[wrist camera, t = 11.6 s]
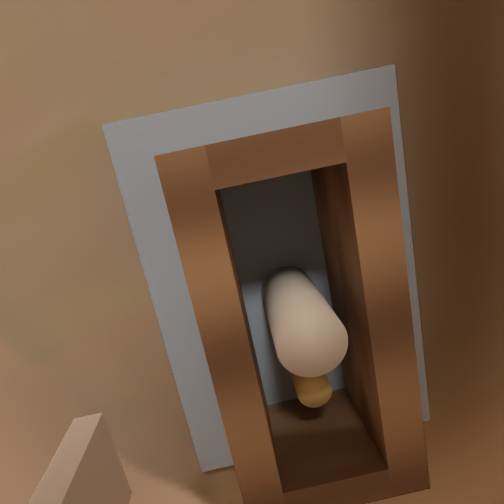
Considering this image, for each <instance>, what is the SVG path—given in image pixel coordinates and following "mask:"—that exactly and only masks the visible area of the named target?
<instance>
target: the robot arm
mask: <svg viewBox="0 0 504 504" xmlns="http://www.w3.org/2000/svg"><path fill="white" fill-rule="evenodd" d="M131 493H132V492H131V489H130V486H129V484H128V481H127V478H126V476H125V473H124V470H123V467H122V465H121V462H120V459H119V456H118V454H117V451H116V448H115V445H114V443H113V440H112V437H111V434H110V432H109V429H108V426H107V423H106V421H105V418H104V415H103V413H98V414H93V415H89V416H84V417H80V418H75V419H74V420H73V422H72V424H71V425H70V427H69V429H68V431H67V433H66V435H65V436H64V438H63V440H62V442H61V444H60V446H59V448H58V449H57V451H56V453H55V455H54V457H53V458H52V461H51V462H50V464H49V466H48V468H47V470H46V471H45V473H44V475H43V477H42V479H41V481H40V482H39V484H38V486H37V488H36V490H35V492H34V494H33V495H32V497H31V499H30V501H29V503H28V504H129V501H130V497H131Z"/></svg>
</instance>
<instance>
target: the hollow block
mask: <svg viewBox="0 0 504 504" xmlns="http://www.w3.org/2000/svg"><path fill="white" fill-rule="evenodd" d="M154 159H155V163H156V167H157V171H158V174H159V178H160V182H161V186H162V190H163V194H164V197H165V201H166V205H167V209H168V213H169V217H170V221H171V224H172V228H173V232H174V236H175V240H176V244H177V248H178V251H179V255H180V259H181V263H182V267H183V271H184V274H185V278H186V282H187V286H188V290H189V294H190V298H191V301H192V305H193V309H194V313H195V317H196V321H197V324H198V328H199V332H200V336H201V340H202V344H203V348H204V351H205V355H206V359H207V363H208V367H209V371H210V374H211V378H212V382H213V386H214V390H215V394H216V398H217V401H218V405H219V409H220V413H221V417H222V421H223V425H224V428H225V432H226V436H227V440H228V444H229V448H230V451H231V455H232V459H233V463H234V467H235V471H236V475H237V478H238V482H239V486H240V490H241V494H242V498H243V501H244V504H365V503H370V502H374V501H378V500H383V499H387V498H391V497H395V496H400V495H404V494H408V493H413V492H417V491H421V490H426V489H430V482H429V473H428V463H427V454H426V444H425V435H424V425H423V416H422V406H421V397H420V388H419V378H418V369H417V359H416V350H415V340H414V331H413V321H412V312H411V302H410V293H409V284H408V274H407V265H406V255H405V246H404V236H403V227H402V217H401V208H400V199H399V189H398V180H397V170H396V161H395V151H394V142H393V132H392V123H391V113H390V107H385V108H380V109H375V110H371V111H366V112H361V113H356V114H351V115H347V116H342V117H337V118H332V119H328V120H323V121H318V122H313V123H308V124H304V125H299V126H294V127H289V128H285V129H280V130H275V131H270V132H265V133H261V134H256V135H251V136H246V137H242V138H237V139H232V140H227V141H222V142H218V143H213V144H208V145H203V146H199V147H194V148H189V149H184V150H179V151H175V152H170V153H165V154H160V155H156V156H154ZM308 170H310V171H311V177H312V184H313V190H314V196H315V202H316V208H317V215H318V221H319V227H320V233H321V239H322V246H323V252H324V258H325V264H326V270H327V276H328V283H329V289H330V295H331V301H332V307H333V311H334V312H335V314H336V315H337V317H338V318H339V319H340V321H341V322H342V324H343V325H344V327H345V329H346V331H347V335H348V348H347V352H346V354H345V356H344V358H343V360H342V361H341V363H342V369H343V376H344V382H345V388H342V389H338V390H333V391H332V395H331V397H330V399H329V401H328V402H327V403H325V404H324V405H322V406H320V407H316V408H311V407H307V406H305V405H303V404H302V403H301V402H300V401H299V399H293V400H289V401H285V402H280V403H276V404H271V405H267V402H266V397H265V393H264V388H263V384H262V379H261V375H260V370H259V366H258V361H257V357H256V352H255V348H254V343H253V339H252V334H251V330H250V325H249V321H248V316H247V312H246V307H245V303H244V298H243V294H242V290H241V285H240V281H239V276H238V272H237V267H236V263H235V258H234V254H233V249H232V245H231V240H230V236H229V231H228V227H227V222H226V218H225V213H224V209H223V204H222V200H221V195H220V191H219V189H223V188H227V187H232V186H237V185H241V184H246V183H251V182H256V181H260V180H265V179H270V178H275V177H279V176H284V175H289V174H293V173H298V172H303V171H308Z"/></svg>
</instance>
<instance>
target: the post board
mask: <svg viewBox="0 0 504 504" xmlns="http://www.w3.org/2000/svg"><path fill="white" fill-rule="evenodd" d="M385 107H390V113H391V123H392V132H393V142H394V151H395V161H396V170H397V180H398V189H399V199H400V208H401V217H402V227H403V236H404V246H405V255H406V265H407V274H408V284H409V293H410V302H411V312H412V321H413V331H414V340H415V350H416V359H417V369H418V378H419V388H420V397H421V406H422V416H423V422H425V421H429V420H430V411H429V401H428V391H427V381H426V371H425V361H424V351H423V341H422V332H421V322H420V312H419V302H418V292H417V282H416V272H415V262H414V252H413V242H412V232H411V222H410V212H409V203H408V193H407V183H406V173H405V163H404V153H403V143H402V133H401V123H400V113H399V103H398V93H397V84H396V74H395V64H392V65H387V66H382V67H377V68H372V69H367V70H363V71H358V72H353V73H348V74H343V75H339V76H334V77H329V78H324V79H319V80H314V81H310V82H305V83H300V84H295V85H290V86H286V87H281V88H276V89H271V90H266V91H261V92H257V93H252V94H247V95H242V96H237V97H233V98H228V99H223V100H218V101H213V102H209V103H204V104H199V105H194V106H189V107H184V108H180V109H175V110H170V111H165V112H160V113H156V114H151V115H146V116H141V117H136V118H131V119H127V120H122V121H117V122H112V123H107V124H103V125H102V128H103V132H104V135H105V138H106V142H107V145H108V149H109V152H110V156H111V159H112V163H113V166H114V170H115V173H116V177H117V180H118V184H119V187H120V191H121V194H122V197H123V201H124V204H125V208H126V211H127V215H128V218H129V222H130V225H131V229H132V232H133V236H134V239H135V243H136V246H137V250H138V253H139V256H140V260H141V263H142V267H143V270H144V274H145V277H146V281H147V284H148V288H149V291H150V295H151V298H152V302H153V305H154V309H155V312H156V316H157V319H158V322H159V326H160V329H161V333H162V336H163V340H164V343H165V347H166V350H167V354H168V357H169V361H170V364H171V368H172V371H173V375H174V378H175V381H176V385H177V388H178V392H179V395H180V399H181V402H182V406H183V409H184V413H185V416H186V420H187V423H188V427H189V430H190V434H191V437H192V440H193V444H194V447H195V451H196V454H197V458H198V461H199V465H200V468H201V472H206V471H210V470H214V469H219V468H223V467H228V466H232V465H234V463H233V459H232V455H231V451H230V448H229V444H228V440H227V436H226V432H225V428H224V425H223V421H222V417H221V413H220V409H219V405H218V401H217V398H216V394H215V390H214V386H213V382H212V378H211V374H210V371H209V367H208V363H207V359H206V355H205V351H204V348H203V344H202V340H201V336H200V332H199V328H198V324H197V321H196V317H195V313H194V309H193V305H192V301H191V298H190V294H189V290H188V286H187V282H186V278H185V274H184V271H183V267H182V263H181V259H180V255H179V251H178V248H177V244H176V240H175V236H174V232H173V228H172V224H171V221H170V217H169V213H168V209H167V205H166V201H165V197H164V194H163V190H162V186H161V182H160V178H159V174H158V171H157V167H156V163H155V159H154V156H156V155H160V154H165V153H170V152H175V151H179V150H184V149H189V148H194V147H199V146H203V145H208V144H213V143H218V142H222V141H227V140H232V139H237V138H242V137H246V136H251V135H256V134H261V133H265V132H270V131H275V130H280V129H285V128H289V127H294V126H299V125H304V124H308V123H313V122H318V121H323V120H328V119H332V118H337V117H342V116H347V115H351V114H356V113H361V112H366V111H371V110H375V109H380V108H385ZM219 191H220V195H221V200H222V204H223V209H224V213H225V218H226V222H227V227H228V231H229V236H230V240H231V245H232V249H233V254H234V258H235V263H236V267H237V272H238V276H239V281H240V285H241V290H242V294H243V298H244V303H245V307H246V312H247V316H248V321H249V325H250V330H251V334H252V339H253V343H254V348H255V352H256V357H257V361H258V366H259V370H260V375H261V379H262V384H263V388H264V393H265V397H266V402H267V405H271V404H276V403H280V402H285V401H289V400H293V399H299V401H300V402H301V403H302V404H303V405H305V406H307V407H311V408H316V407H320V406H322V405H324V404H325V403H327V402H328V401H329V399H330V397H331V395H332V391H333V390H338V389H342V388H345V382H344V376H343V369H342V363H341V361H342V360H343V358H344V356H345V354H346V352H347V348H348V335H347V331H346V329H345V327H344V325H343V324H342V322H341V321H340V319H339V318H338V317H337V315H336V314H335V312H334V311H333V307H332V301H331V295H330V289H329V283H328V276H327V270H326V264H325V258H324V252H323V246H322V239H321V233H320V227H319V221H318V215H317V208H316V202H315V196H314V190H313V184H312V177H311V171H310V170H308V171H303V172H298V173H293V174H289V175H284V176H279V177H275V178H270V179H265V180H260V181H256V182H251V183H246V184H241V185H237V186H232V187H227V188H223V189H219Z"/></svg>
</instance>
